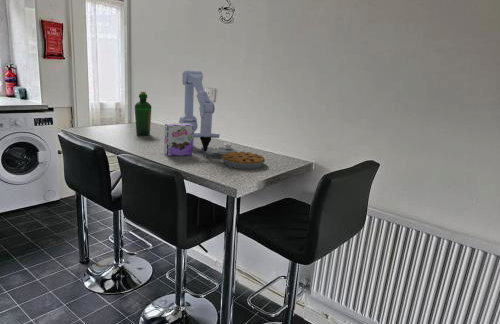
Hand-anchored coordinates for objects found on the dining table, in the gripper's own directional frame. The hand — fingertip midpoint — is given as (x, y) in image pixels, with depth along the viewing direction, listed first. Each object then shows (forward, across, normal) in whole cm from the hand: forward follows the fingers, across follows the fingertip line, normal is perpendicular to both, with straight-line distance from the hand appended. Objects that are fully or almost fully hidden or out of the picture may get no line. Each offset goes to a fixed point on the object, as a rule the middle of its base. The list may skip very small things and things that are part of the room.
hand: (204, 150), depth 182 cm
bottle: (+3, -30, +58) cm, 65 cm away
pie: (+3, +16, -16) cm, 23 cm away
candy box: (+3, -14, +4) cm, 14 cm away
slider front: (+1, +6, 0) cm, 6 cm away
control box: (+3, +10, +4) cm, 11 cm away
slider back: (+1, +15, +9) cm, 17 cm away
